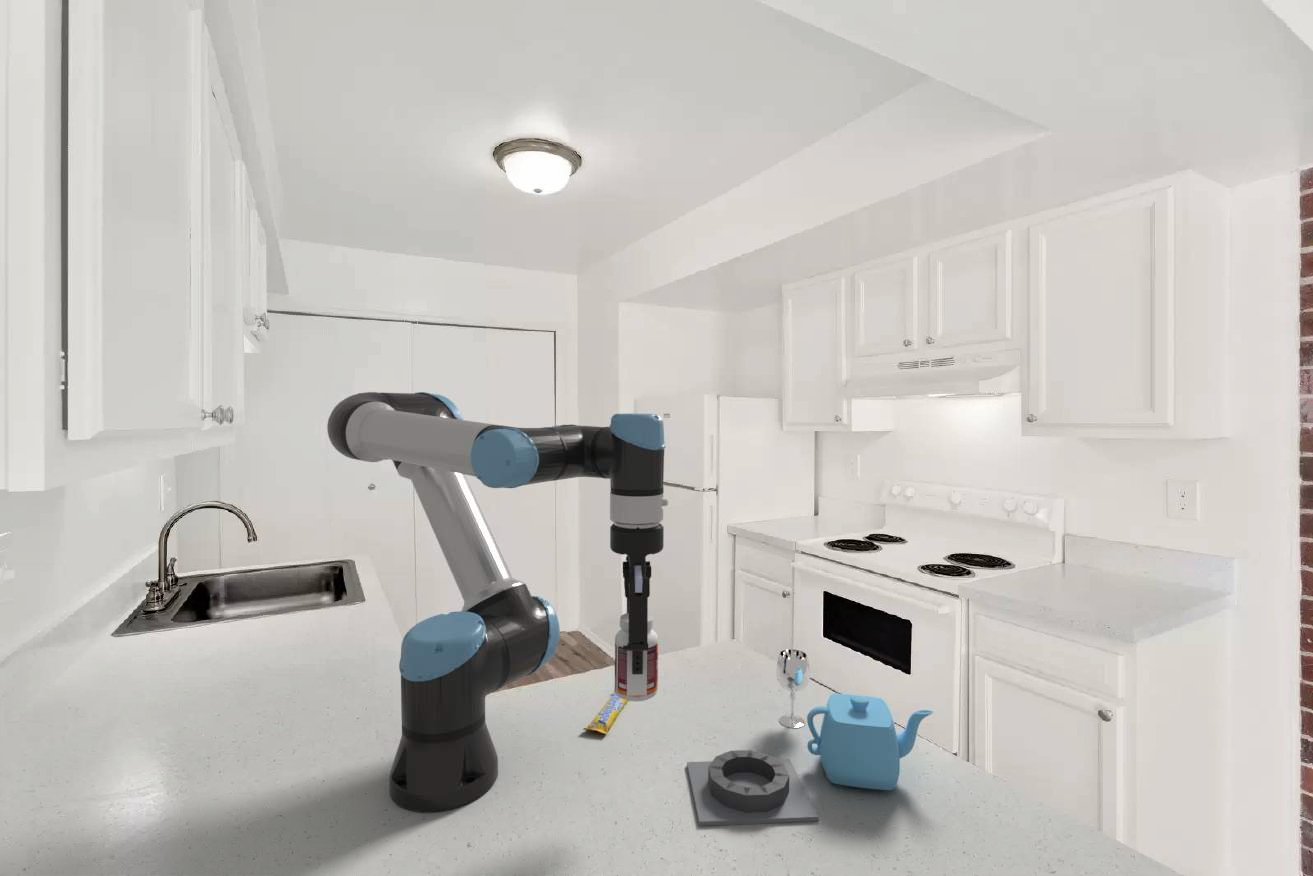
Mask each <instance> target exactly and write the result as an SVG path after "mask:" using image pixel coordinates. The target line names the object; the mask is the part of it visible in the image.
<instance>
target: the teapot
mask: <svg viewBox="0 0 1313 876" xmlns="http://www.w3.org/2000/svg"><path fill="white" fill-rule="evenodd" d="M933 713H934V711H933V710H928V709H924V710H922V709H921V710H916V711H915V712H913V713H912V714H911V715H910V716H909V718H908V721H907V724H906V727H905V729H904V730H903V731H901V733H897V731H896V726H895V723H894V719H893V716H892V713H891V710H890V708H889V706H888V705H887V703H886V702H885V700H883V699H882V698H881V697H875V696H866V695H860V694H859V695H858V694H857V695H856V694H848V693H832V694H830V695H829V697H828V699H827V703H826V706H822V705H820V706H816V707H815V706H814V707H813V708H812V709H811V710H810V711H808V714H807V717H806V722H807V725H808V728H809V731H810V733H811V736H812V737H813V738H812V739H810V740H808V742H807V745H806V747H807V750H808V752H809V753H810V754H811V755H814V756H819V757H820V761H821V764H822V767H823V770H824V772H825V776H826V777H827V780H829V782H830V783H833V784H836V785H840V786H846V787H853V788H859V789H860V788H861V789H868V790H879V791H880V790H881V791H893V790H894V789H895V788H896V786H897V784H898V781H899V776H900V772H901V771H900V770H901V769H900V767H901V765H900V763H901V762H900V759H902V758H904V757H906V756H907V755H909V754H910V753H911V751H912V750H913V748H914V746H915V743H916V739H917V734H918V730H919V726H920V724H921V722H922V721H923V720H924V719H925V718H926V717H929V716H931V715H932V714H933ZM820 714H823V718H822V721H821V727H820V732H819V733H820V734H819V733H818V731H817V729H816V727H815V724H814V717H816V716H817V715H820ZM813 744H814V745H816V746H817V747H814V746H813Z"/></svg>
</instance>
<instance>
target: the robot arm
mask: <svg viewBox="0 0 1313 876" xmlns="http://www.w3.org/2000/svg"><path fill="white" fill-rule="evenodd" d="M326 429H327V436H328V438H329V440H330V442H331V443H330V444H331V445H332V447H334V449H335V450H336V451H338V453H340V454H341V455H343V456H345V457H346V458H349V459H352V460H357V461H362V462H366V463H377V462H381V461H385V460H386V461H387V460H391V461H392V463H393V465H394V468H395V469H396V471H397V474H398V476H400V477H402V478H405V479H408V480H409V481H411V483H412V486H413V489H414V490H415V492H416V494H417V497H418V499H419V501H420V504H421V506H422V508H423V510H424V512H425V515H426V518H427V519H428V522H429V524H430V526H431V528H432V531H433V533H434V535H435V538H436V539H437V542H438V544H439V548H440V549H441V552H442V554H443V557H444V558H445V560H446V563H447V566H448V567H449V569H450V572H451V574H452V577H453V579H454V581H455V583H456V585H457V588H458V591H459V592H460V594H461V595H460V596H461V597H462V599H463V606H462V609H461V610H460V611H451V612H449V613H446V614H445V613H440V614H436V615H434V616H431V617H428V618H425V619H423V620H421V621H419V622H418V623H416V624H415V625H414V626H413V627H411V628H410V629H409V630H407V632H406V633H405V634H404V637H403V639H402V641H401V645H400V659H399V663H398V670H399V673H400V700H401V701H400V703H401V704H400V707H401V711H400V712H401V737H400V740H399V743H398V747H397V749H396V753H395V756H394V760H393V762H392V764H391V769H390V772H389V778H388V779H389V795H390V798H391V799H392V801H393V802H395V804H396V805H398V806H399V807H400V808H401V807H402V808H403V809H407V810H411V811H415V812H441V811H446V810H451V809H454V808H455V809H456V808H458V807H461V806H464V805H466V804H469V803H471V802H473V801H475V800H477V799H478V798H480V797H482V796H483V795H484V794H486V793H487V792H488V791H489V790H490V789H491V788H492V787H493V786H494V785H495V782H496V781H497V779H498V775H499V761H498V753H497V750H496V747H495V745H494V741H493V740H492V737H491V734H490V731H489V729H488V726H487V722H486V697H487V696H488V695H490V694H491V693H494V692H497V691H498V690H500V689H502V688H504V687H506V686H508V685H510V684H512V683H514V682H517V680H520V679H522V678H524V677H528V676H530V675H532V674H534V673H536V672H537V671H538V670H539V669H540V668H542V667H544V666H546V665H547V664H548V663H549V662H550V661H552V659H553V658H554V656H555V654H556V653H557V651H558V647H559V645H558V643H559V641H560V638H561V636H560V635H561V629H560V627H561V626H560V622H559V618H558V615H557V613H556V611H555V609H554V607H553V606H552V604H551V603H550V602H549V601H548V600H546V599H545V600H544V598H543V597H540V596H537V595H536V596H535V595H531V592H530V591H529V588H528V586H527V584H526V582H524V581H522V580H519V579H515V578H514V577H513V576H512V573H511V572H510V569H509V567H508V565H507V562H506V561H505V558H504V556H503V554H502V552H501V550H500V548H499V545H498V544H497V541H496V539H495V537H494V534H493V533H492V530H491V528H490V526H489V524H488V522H487V519H486V518H485V516H484V513H483V511H482V509H481V507H480V504H479V502H478V500H477V498H476V497H475V495H474V492H473V489H472V488H471V485H470V482H469V481H468V479H467V477H466V476H471V477H476V479H478V480H479V481H480V482H481V483H482V485H484V486H485V487H488V488H491V489H501V488H502V489H516V488H518V487H523V486H526V485H527V486H528V485H533V484H540V483H545V482H552V481H554V482H556V481H561V480H567V479H575V478H597V479H598V478H599V479H609V480H610V483H609V485H610V486H609V487H610V493H609V519H610V521H611V522H612V524H611V526H610V531H609V533H610V537H609V538H610V539H609V541H610V542H609V544H610V546H609V547H610V550H611V551H612V552H613V553H615V554H617V555H622V556H623V555H626V557H625V561H622V577H623V581H624V582H623V588H624V597H625V598H626V613H628V642H629V643H628V644H627V646H623V651H627V696H636V695H647V650H648V643H647V632H648V614H649V613H648V612H649V611H648V609H649V607H648V603H649V602H648V598H649V597H650V595H651V589H650V588H651V586H650V582H651V581H650V579H651V577H652V565H651V561H649V560H648V561H647V560H646V559H647V556H649V555H656V554H659V553H661V552H662V551H663V550H664V530H665V529H664V526H663V524H661V522H662V521H664V508H663V507H667V506H668V505H669V501H668V499H665V498H664V489H665V488H664V474H665V471H664V469H665V449H666V442H665V430H664V429H665V428H664V419H663V417H661V416H660V415H659V414H658V413H657V414H656V413H615V414H613V415H612V416H611V418H610V424H609V426H595V425H594V426H592V425H590V426H589V425H577V424H571V423H570V424H561V425H553V426H549V427H548V426H545V427H543V426H542V427H517V426H516V427H515V426H507V425H503V424H502V425H500V424H494V423H485V422H480V421H479V422H478V421H472V420H464V417H463V416H462V413H461V412H460V410H459V408H458V406H457V405H456V404H455V403H454V402H453V401H452V400H451V399H449V398H448V397H446V396H444V395H441V394H435V393H430V392H425V391H419V392H414V393H412V392H411V393H407V392H405V393H404V392H376V391H368V392H360V393H356V394H353V395H349V396H348V397H345V398H344V399H343V400H341V401H339V402H338V403H337V404H336V405H335V406H334V407H333V409H332V411H331V413H330V414H329V417H328V420H327V427H326Z"/></svg>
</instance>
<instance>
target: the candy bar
mask: <svg viewBox="0 0 1313 876" xmlns="http://www.w3.org/2000/svg"><path fill="white" fill-rule="evenodd" d="M613 692H614V693H612V695H611V697H609V699H608V700H607V702H606V703H605V705H604V706H603V707H602V708H601V710H600V711H599V712H598V713H597V715H595V717H593V720H591V722H590V723H589V725H587V727H584V728H583V729H582V730H583V731H596V732H598V733H599V734H605V735H607V733H608V732H609V731H610V729H611V728H612V727H613V725H614V723H615V721H616V720H617V719H618V717H619V716H620V714H621V713H622V711H623V710H624V708H625V707H626V706H627V704H628V703H627V702H629V701H628V700H625V699H622V698H620V697H619V696H617V694H616V693H615V689H614V690H613ZM625 705H626V706H625ZM624 706H625V707H624ZM621 710H622V711H621ZM620 712H621V713H620ZM619 713H620V714H619ZM618 715H619V716H618ZM617 716H618V717H617ZM616 718H617V719H616Z"/></svg>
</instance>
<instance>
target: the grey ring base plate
mask: <svg viewBox="0 0 1313 876" xmlns="http://www.w3.org/2000/svg"><path fill="white" fill-rule="evenodd" d="M686 768H687V773H688V777H689V782H690V786H691V792H692V797H693V802H694V806H695V807H694V808H695V810H696V817H697V821H698V825H699V827H706V826H707V827H708V826H730V825H731V826H732V825H737V826H738V825H757V824H758V825H759V824H779V823H781V824H782V823H802V822H803V823H804V822H819V815H818V812H817V810H816V809H815V806H814V804H813V802H812V800H811V799H810V797H809V795H808V793H807V790H806V789H805V787H804V785H803V783H802V781H801V779H800V777H799V775H798V773H797V771H796V768H795V767H794V765H793V763H792V761H791V759H790V758H775V757H774V756H772V755H771V754H767V753H763V752H759V751H757V750H751V749H741V750H740V749H739V750H738V749H737V750H729V751H726V752H724V753H722V754H719V755H715V757H713V760H710V761H708V760H707V761H687V762H686Z"/></svg>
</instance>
